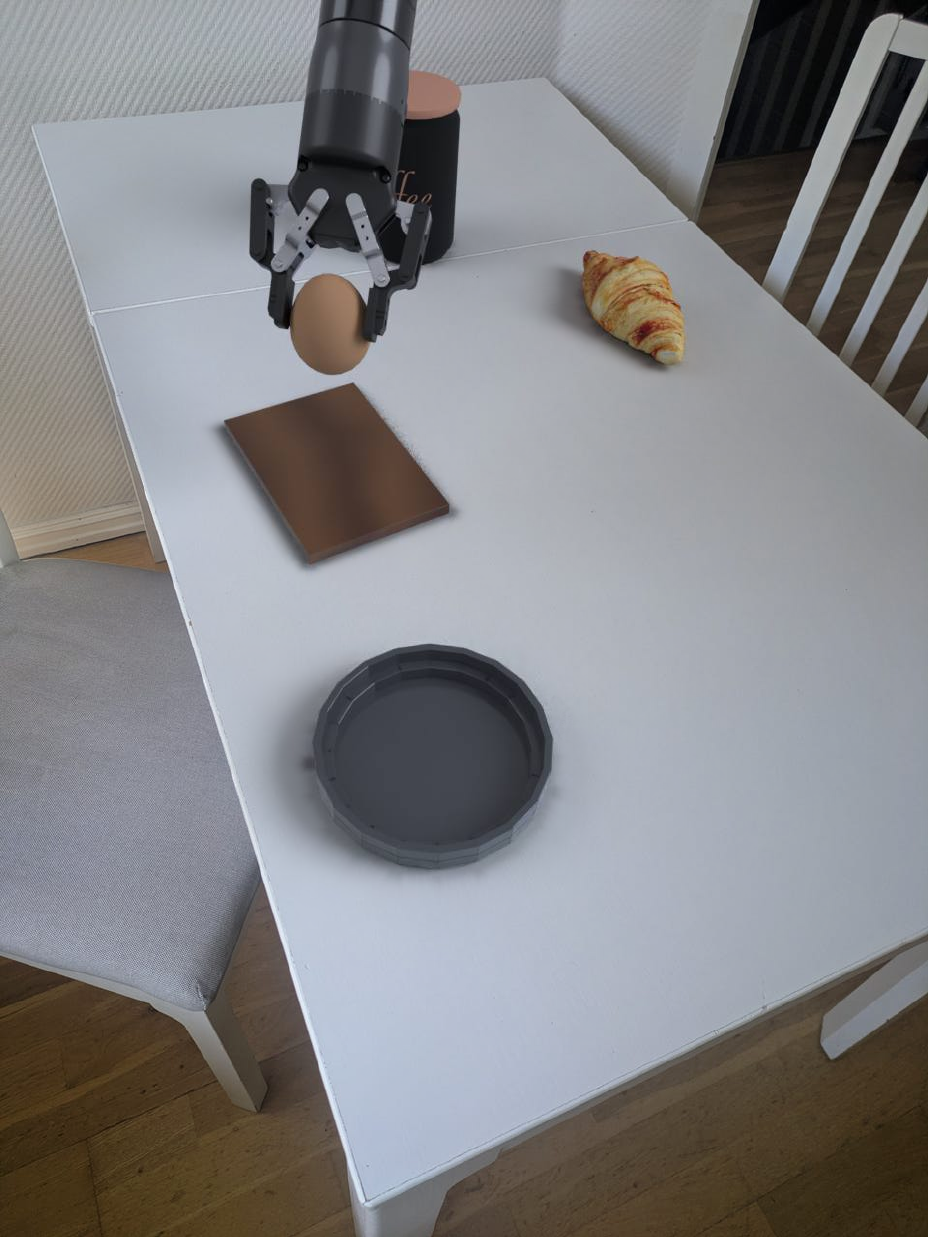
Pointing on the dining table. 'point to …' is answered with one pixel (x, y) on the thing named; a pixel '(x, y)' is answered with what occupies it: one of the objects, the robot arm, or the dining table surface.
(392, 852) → the pan
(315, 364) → the egg
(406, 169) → the coffee jar
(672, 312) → the croissant
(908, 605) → the dining table surface
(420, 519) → the board
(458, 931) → the dining table surface
